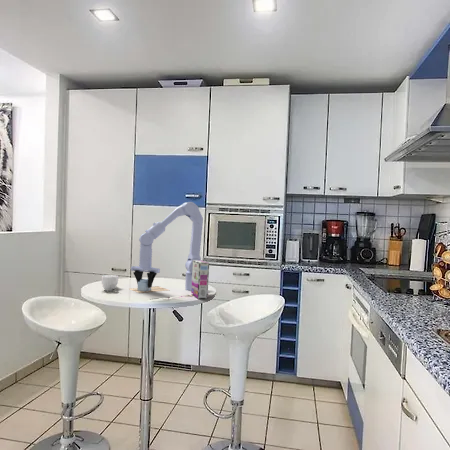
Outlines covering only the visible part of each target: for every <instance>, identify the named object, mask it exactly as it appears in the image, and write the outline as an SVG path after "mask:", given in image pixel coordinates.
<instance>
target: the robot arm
mask: <svg viewBox="0 0 450 450" xmlns="http://www.w3.org/2000/svg"><path fill="white" fill-rule="evenodd" d="M182 216H185V217H188V218H189V219H190V221H191V222H192V225H191V232H190V233H191V236H190V244H189V254H188V256H187V260H186V261H185V266H184V267H185V269H186V271H185V283H184V284H185V287H184V288H185V289H184V290H185V291H187V292H189V291H190V292H191V289H192V267H193V260H200V261H202V260H201V259H202V258H201V245H202V244H201V243H202V234H203V233H202V232H203V225H204V218H203V215H202V213H201V211H200V208H199V206H198V205H197V204H196V203H195V202H193V201H188V202H187V201H186V202H183V203H181V205H179V206H177V207H176V208H175V209H174V210H172V212H170V213H169V214H168V215H167V216H166V217H165V218H163V220H162V221H156V222H153V223H152V225H151V227H149V228H148V229H146V230H144V232H145V233H142V234H141V235H140V236H139V239H138V241H139V243H140V245H139V259H138V260H139V261H138V263H139V264H138V266H136V265H135V266H130V271H131V272H133V275H134V277H135V281H136V282H137V283H136V284H137V285H138V282H139V281H140V279H143V275H144V272H147V273H146V276H147V279H148V288H150V287H153V283H154V280H155V278H156V276H157V275H158V274H159V273H160V272H161V271H160V270H161V269H160V267H159V268H157V267H152V260H153V259H152V258H153V248H152V247H153V243H154V240H157V238H159V237H160V236H161V235H162V234H163V233H165V232H166V227H168V226H169V225H170V224H171V223H172V222H173V221H174V220H176V219H177V218H178V217H182Z"/></svg>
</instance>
